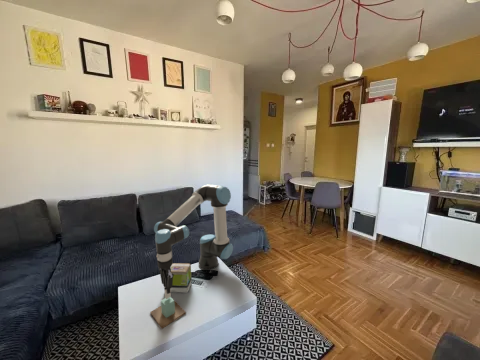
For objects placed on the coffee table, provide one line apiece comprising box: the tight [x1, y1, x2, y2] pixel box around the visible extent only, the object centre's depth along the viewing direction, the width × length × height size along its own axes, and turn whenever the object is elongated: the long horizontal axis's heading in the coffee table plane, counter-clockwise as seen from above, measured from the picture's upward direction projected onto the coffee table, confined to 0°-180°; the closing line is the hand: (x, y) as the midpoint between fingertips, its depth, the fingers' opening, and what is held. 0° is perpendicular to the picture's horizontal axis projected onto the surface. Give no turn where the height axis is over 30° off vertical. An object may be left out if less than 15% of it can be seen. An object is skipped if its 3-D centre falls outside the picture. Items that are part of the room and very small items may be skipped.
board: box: [150, 298, 187, 330], centre depth 116 cm, size 14×14×1 cm
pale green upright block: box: [160, 296, 175, 318], centre depth 115 cm, size 5×5×8 cm
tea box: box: [170, 262, 193, 294], centre depth 136 cm, size 15×10×15 cm, turn 87°
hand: (168, 297), depth 116 cm, fingers closed
